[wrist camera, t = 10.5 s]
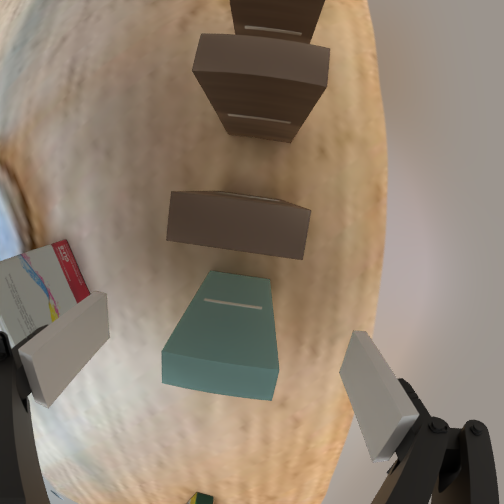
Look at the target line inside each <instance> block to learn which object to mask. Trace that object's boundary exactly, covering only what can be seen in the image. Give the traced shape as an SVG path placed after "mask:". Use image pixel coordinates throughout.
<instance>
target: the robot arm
mask: <svg viewBox="0 0 504 504" xmlns="http://www.w3.org/2000/svg"><path fill="white" fill-rule="evenodd" d="M109 338H110V335H109V323H108V308H107V294H106V293H102V292H98V291H94V292H93V293H92V294H90V295H89V296H87V297H86V298H85V299H83V300H82V301H81V302H79V303H78V304H76V305H75V306H74V307H72V308H71V309H70V310H68V311H67V312H66V313H64V314H63V315H62V316H60V317H59V318H58V319H56V320H55V321H54V322H52V323H51V324H50V325H48V324H47V325H44V326H42V327H39V328H37V329H36V330H35V331H33V332H32V334H30V335H28V336H27V338H24V339H23V340H22V341H20V342H19V343H18V344H17V345H15V346H14V347H13V348H12V349H11V346H10V342H9V338H8V335H7V334H6V333H5V332H3V331H0V504H50V501H49V498H48V495H47V492H46V488H45V485H44V481H43V477H42V473H41V469H40V465H39V461H38V456H37V451H36V446H35V440H34V434H33V428H32V420H31V412H30V403H29V400H28V397H27V396H28V395H29V394H30V393H31V392H32V394H33V397H34V400H35V402H36V403H38V404H40V405H42V406H44V407H46V408H49V407H50V406H51V405H52V404H53V402H54V401H55V400H56V399H57V397H58V396H59V395H60V394H61V393H62V392H63V390H64V389H65V388H66V387H67V386H68V384H69V383H70V382H71V381H72V380H73V379H74V377H75V376H76V375H77V374H78V373H79V372H80V370H81V369H82V368H83V367H84V366H85V365H86V364H87V362H88V361H89V360H90V359H91V358H92V357H93V356H94V354H95V353H96V352H97V351H98V350H99V349H100V348H101V347H102V345H103V344H104V343H105V342H106V341H107V340H108V339H109ZM339 373H340V376H341V378H342V381H343V384H344V386H345V389H346V391H347V394H348V397H349V399H350V402H351V405H352V407H353V410H354V413H355V415H356V418H357V421H358V423H359V426H360V429H361V432H362V434H363V437H364V440H365V442H366V445H367V448H368V451H369V454H370V457H371V459H372V462H373V463H374V462H381V461H388V460H389V459H390V458H391V457H392V455H393V454H394V452H396V454H397V457H398V459H397V460H396V461H395V463H394V464H393V465H392V467H391V468H390V469H389V470H388V471H387V473H388V476H387V478H386V480H385V481H384V483H383V485H382V486H381V488H380V490H379V491H378V493H377V495H376V496H375V498H374V500H373V501H372V503H371V504H428V502H429V500H430V497H431V494H432V499H431V504H499V495H498V485H497V476H496V469H495V462H494V457H493V451H492V446H491V441H490V436H489V432H488V429H487V427H486V426H485V425H484V424H483V423H482V422H480V421H477V420H469V421H467V422H466V424H465V425H464V427H463V428H462V429H459V428H450V427H449V426H448V424H447V423H446V422H445V421H444V420H442V419H440V418H437V417H431V416H430V414H429V413H428V411H427V409H426V408H425V406H424V405H423V403H422V402H421V400H420V399H418V396H417V394H416V393H415V391H414V390H413V388H412V386H411V385H410V384H409V383H408V382H406V381H405V380H404V379H403V378H401V379H397V378H396V376H395V374H394V373H393V371H392V370H391V369H390V367H389V365H388V364H387V362H386V361H385V359H384V358H383V356H382V354H381V353H380V352H379V350H378V349H377V347H376V345H375V344H374V342H373V341H372V339H371V338H370V336H369V335H368V334H367V332H366V331H353V333H352V336H351V339H350V342H349V345H348V348H347V351H346V354H345V357H344V360H343V363H342V366H341V369H340V372H339Z"/></svg>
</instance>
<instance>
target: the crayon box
mask: <svg viewBox="0 0 504 504" xmlns="http://www.w3.org/2000/svg"><path fill="white" fill-rule="evenodd" d="M187 504H213V496H209V495H206V494H202V493H198V492H196V494H195V495H194V496H193V497H192V498H191V499H190V500H189V502H188V503H187Z"/></svg>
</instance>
